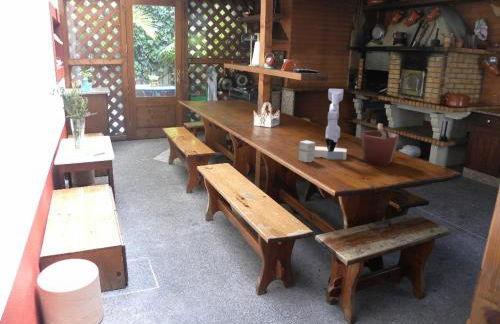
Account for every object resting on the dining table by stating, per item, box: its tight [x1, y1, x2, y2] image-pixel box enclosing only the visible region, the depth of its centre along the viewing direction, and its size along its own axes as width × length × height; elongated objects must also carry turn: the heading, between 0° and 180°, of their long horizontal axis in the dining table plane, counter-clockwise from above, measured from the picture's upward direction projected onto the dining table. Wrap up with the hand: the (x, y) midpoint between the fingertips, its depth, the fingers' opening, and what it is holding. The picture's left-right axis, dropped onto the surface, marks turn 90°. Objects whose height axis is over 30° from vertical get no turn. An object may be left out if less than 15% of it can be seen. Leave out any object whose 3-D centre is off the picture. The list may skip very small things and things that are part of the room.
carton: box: [314, 145, 348, 160], centre depth 275 cm, size 10×24×5 cm, turn 78°
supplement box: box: [298, 139, 316, 163], centre depth 262 cm, size 7×7×13 cm
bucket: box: [360, 123, 400, 167], centre depth 261 cm, size 24×22×25 cm
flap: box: [326, 145, 344, 160], centre depth 267 cm, size 2×10×9 cm, turn 96°
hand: (330, 150), depth 265 cm, fingers open, 4 cm apart
